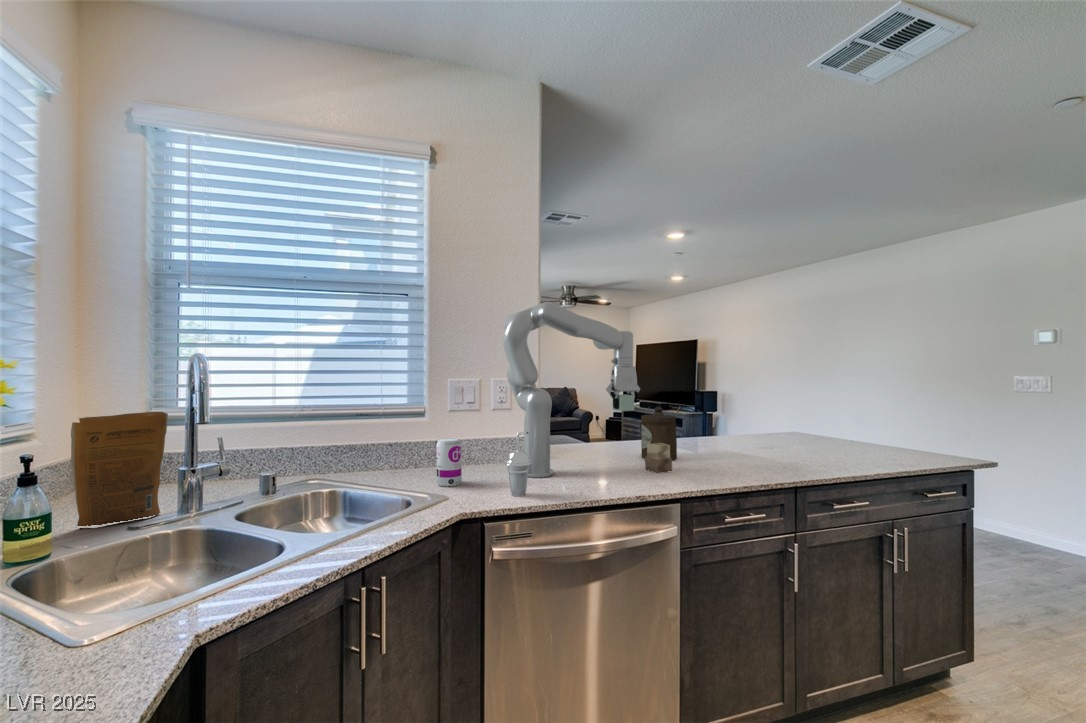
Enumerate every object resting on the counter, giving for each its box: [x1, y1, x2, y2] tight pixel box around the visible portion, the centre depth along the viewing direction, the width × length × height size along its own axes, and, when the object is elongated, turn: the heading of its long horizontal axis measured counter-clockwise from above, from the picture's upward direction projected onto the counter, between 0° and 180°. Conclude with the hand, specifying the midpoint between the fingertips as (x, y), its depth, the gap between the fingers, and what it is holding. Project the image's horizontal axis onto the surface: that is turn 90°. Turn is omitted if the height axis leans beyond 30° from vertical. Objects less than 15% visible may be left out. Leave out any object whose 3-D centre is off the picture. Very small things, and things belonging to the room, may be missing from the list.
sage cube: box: [612, 394, 635, 412], centre depth 192 cm, size 6×6×6 cm
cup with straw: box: [504, 431, 532, 497], centre depth 151 cm, size 8×9×20 cm
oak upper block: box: [647, 443, 670, 460], centre depth 185 cm, size 6×6×5 cm
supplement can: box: [436, 437, 463, 488], centre depth 165 cm, size 8×8×15 cm
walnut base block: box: [644, 457, 673, 474], centre depth 185 cm, size 7×7×5 cm
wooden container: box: [640, 406, 678, 461], centre depth 210 cm, size 15×15×22 cm
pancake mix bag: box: [70, 411, 169, 527], centre depth 125 cm, size 7×19×28 cm, turn 137°
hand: (623, 408), depth 192 cm, fingers closed on sage cube, 6 cm apart
